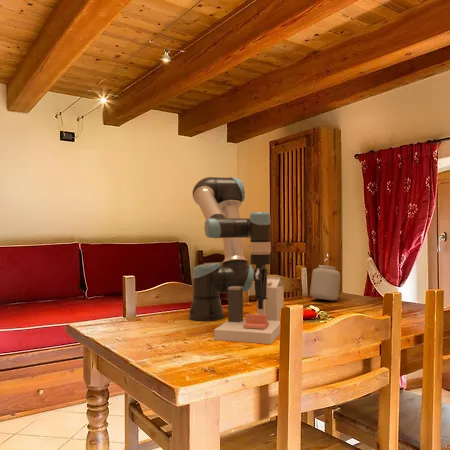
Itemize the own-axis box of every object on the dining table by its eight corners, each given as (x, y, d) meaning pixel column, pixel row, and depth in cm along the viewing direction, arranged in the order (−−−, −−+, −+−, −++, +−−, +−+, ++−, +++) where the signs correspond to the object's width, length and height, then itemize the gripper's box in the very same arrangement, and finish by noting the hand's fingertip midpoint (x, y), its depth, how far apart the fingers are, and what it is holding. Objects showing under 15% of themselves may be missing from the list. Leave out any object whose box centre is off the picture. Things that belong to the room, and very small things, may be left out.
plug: (231, 319, 164) (231, 286, 165) (243, 319, 163) (242, 286, 163) (228, 321, 160) (227, 287, 160) (239, 322, 159) (239, 287, 159)
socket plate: (231, 327, 166) (231, 318, 166) (282, 330, 160) (282, 321, 160) (214, 339, 147) (214, 329, 147) (271, 343, 141) (271, 333, 141)
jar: (325, 297, 240) (324, 252, 241) (348, 300, 229) (347, 253, 230) (304, 301, 228) (303, 254, 228) (327, 304, 217) (327, 255, 217)
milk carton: (268, 320, 178) (267, 275, 178) (284, 322, 174) (283, 275, 174) (260, 324, 172) (260, 276, 172) (276, 326, 168) (276, 277, 168)
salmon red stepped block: (248, 323, 156) (248, 312, 156) (269, 324, 153) (268, 313, 153) (243, 327, 149) (243, 316, 149) (264, 329, 146) (264, 317, 146)
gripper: (254, 252, 166) (255, 313, 165) (246, 254, 154) (246, 320, 153) (274, 252, 164) (274, 314, 163) (266, 254, 151) (267, 321, 151)
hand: (261, 317), depth 158 cm, fingers closed
